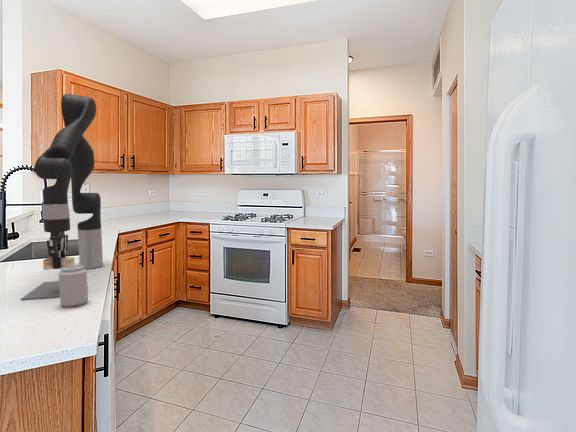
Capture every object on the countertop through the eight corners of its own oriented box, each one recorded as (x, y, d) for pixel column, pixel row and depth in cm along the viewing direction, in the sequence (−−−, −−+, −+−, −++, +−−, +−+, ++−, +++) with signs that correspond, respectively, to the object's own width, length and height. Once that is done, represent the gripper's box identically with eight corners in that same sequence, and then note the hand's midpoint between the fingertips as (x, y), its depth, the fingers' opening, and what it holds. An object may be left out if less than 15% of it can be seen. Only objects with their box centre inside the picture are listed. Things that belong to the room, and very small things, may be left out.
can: (56, 308, 107) (54, 270, 106) (65, 300, 114) (63, 264, 113) (84, 306, 109) (82, 268, 108) (91, 298, 116) (89, 263, 115)
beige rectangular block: (74, 265, 125) (74, 256, 125) (70, 268, 121) (70, 258, 120) (48, 266, 123) (48, 257, 122) (43, 269, 118) (42, 260, 118)
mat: (44, 283, 133) (44, 281, 133) (85, 280, 137) (85, 279, 137) (21, 300, 114) (20, 298, 114) (70, 296, 118) (69, 295, 118)
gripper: (62, 219, 114) (65, 270, 116) (75, 215, 128) (77, 261, 130) (35, 219, 112) (38, 272, 114) (51, 215, 126) (54, 262, 127)
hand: (59, 266), depth 122 cm, fingers closed on beige rectangular block, 4 cm apart
